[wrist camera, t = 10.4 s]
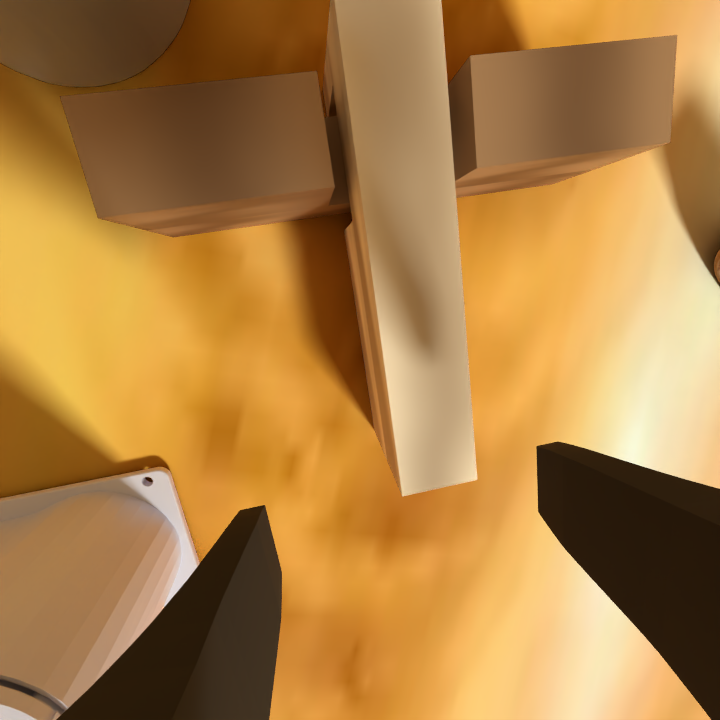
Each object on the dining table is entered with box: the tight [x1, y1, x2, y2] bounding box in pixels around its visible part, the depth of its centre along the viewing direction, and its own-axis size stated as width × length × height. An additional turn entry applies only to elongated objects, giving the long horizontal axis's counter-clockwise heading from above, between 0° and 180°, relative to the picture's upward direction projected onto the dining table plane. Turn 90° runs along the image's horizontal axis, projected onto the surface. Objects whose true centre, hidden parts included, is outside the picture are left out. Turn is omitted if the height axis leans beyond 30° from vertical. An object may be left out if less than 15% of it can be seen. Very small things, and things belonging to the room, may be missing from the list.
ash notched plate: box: [323, 0, 477, 496], centre depth 15 cm, size 3×16×6 cm, turn 9°
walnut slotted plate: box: [60, 35, 677, 237], centre depth 14 cm, size 18×3×6 cm, turn 99°
